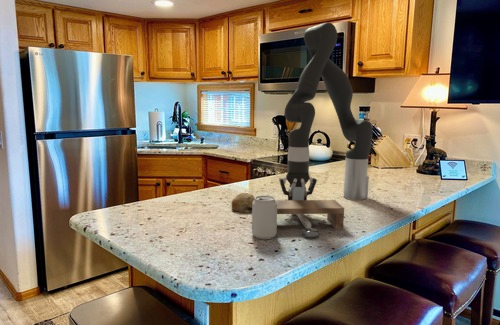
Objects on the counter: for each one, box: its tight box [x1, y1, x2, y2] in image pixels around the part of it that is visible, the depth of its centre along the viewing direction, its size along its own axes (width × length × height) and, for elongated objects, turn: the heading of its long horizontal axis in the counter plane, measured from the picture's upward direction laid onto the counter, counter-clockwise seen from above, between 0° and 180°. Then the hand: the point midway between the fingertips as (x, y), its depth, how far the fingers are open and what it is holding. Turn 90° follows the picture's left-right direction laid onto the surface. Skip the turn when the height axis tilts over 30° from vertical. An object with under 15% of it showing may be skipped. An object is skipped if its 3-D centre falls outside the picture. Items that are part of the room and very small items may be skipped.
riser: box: [275, 199, 345, 230], centre depth 121 cm, size 24×10×7 cm, turn 94°
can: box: [251, 194, 278, 240], centre depth 110 cm, size 8×8×12 cm
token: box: [301, 227, 320, 240], centre depth 112 cm, size 5×5×2 cm
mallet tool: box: [291, 187, 312, 229], centre depth 125 cm, size 4×21×10 cm, turn 4°
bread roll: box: [230, 192, 256, 213], centre depth 139 cm, size 10×10×8 cm
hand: (297, 205), depth 134 cm, fingers closed on mallet tool, 4 cm apart
